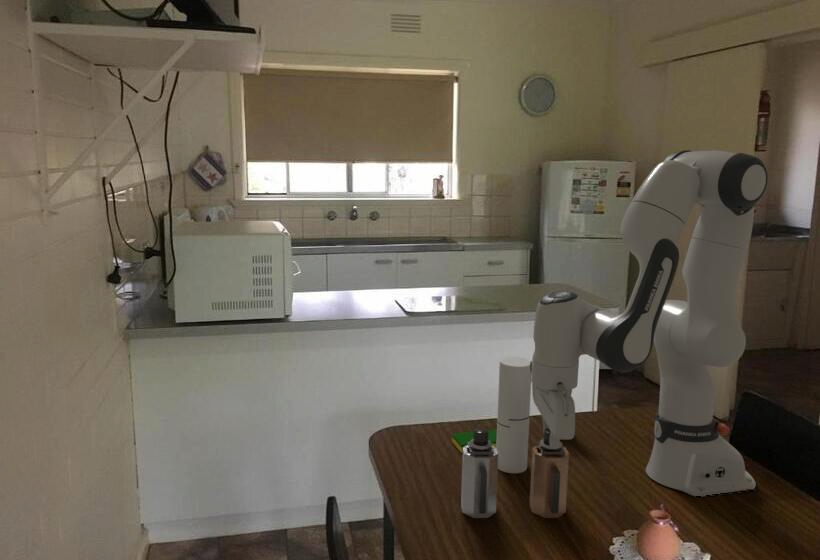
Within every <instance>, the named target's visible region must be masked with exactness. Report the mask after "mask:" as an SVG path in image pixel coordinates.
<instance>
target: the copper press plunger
mask: <svg viewBox="0 0 820 560" xmlns="http://www.w3.org/2000/svg"><path fill="white" fill-rule="evenodd" d="M543 430H544V429H543ZM549 437H550V429H546V430H544V435H543V438H542V439H540V440H539V442H540V446H541V447H542V448H545V449H548V450H558V449H561V448H562V447H563V442H562V441H561V440H560V441H559V447H558V448H551V447H550V446H549V443H548V442H549Z"/></svg>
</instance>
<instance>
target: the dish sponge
mask: <svg viewBox="0 0 820 560" xmlns="http://www.w3.org/2000/svg"><path fill="white" fill-rule="evenodd" d="M486 430H487V431H488V432H489V437H488V440H489V441H491V442H492V446H493V447H496V442H497V428H495V429H486ZM472 439H473V431H469V432H460V433H459V432H458V433H453V434H451V442H452V444H453V445H454V446H455V447H456V448H457V450H458V451H459V453H462V454H463V447H465V446H467V445H468V442H470V440H472Z"/></svg>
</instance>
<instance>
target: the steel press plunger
mask: <svg viewBox="0 0 820 560" xmlns="http://www.w3.org/2000/svg"><path fill="white" fill-rule="evenodd" d="M487 430H488V429H485V428H476V429H474V430H473V431H472V432H473V439H472V440H470V442H469V445H470V447H471V448H473V449H477V450H487V449H490V448H491V447H492V442H491V441H489V440H488V437H489V432H488V431H487Z"/></svg>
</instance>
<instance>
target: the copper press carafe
mask: <svg viewBox="0 0 820 560" xmlns="http://www.w3.org/2000/svg"><path fill="white" fill-rule="evenodd" d="M531 448H532V449H531V467H530V470H531V471H530V487H529V489H530V491H529V508H530V511H531V513H533V514H535V515H536V516H537V515H538V516H540V517H542V518H544V519H545V518H546V519H556V518H557V519H559V518H560V517H561V516H563V515H564V514H565V513H567V512H566V511H567V498H568V497H567V495H568V480H569V466H570V465H569V464H570V463H569V461H570V453H569V451H568V450H567V448H566V447H565V446H562V448H561V449H558V450H548V449H545V448H542V447H541V446H540V441H536V445H534V446H532V447H531Z"/></svg>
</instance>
